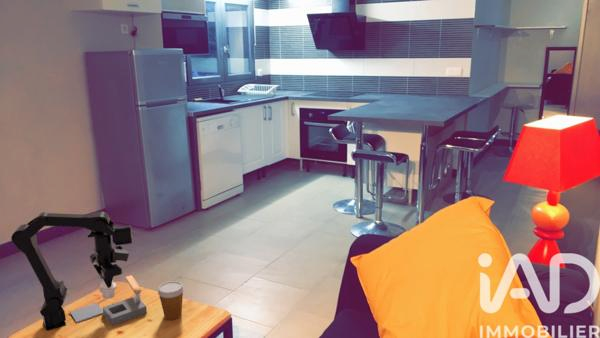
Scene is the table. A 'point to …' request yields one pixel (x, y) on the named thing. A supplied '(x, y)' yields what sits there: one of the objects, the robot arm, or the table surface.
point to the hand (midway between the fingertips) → (107, 285)
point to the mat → (86, 312)
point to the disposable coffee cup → (171, 299)
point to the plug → (107, 290)
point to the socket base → (124, 310)
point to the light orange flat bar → (133, 284)
